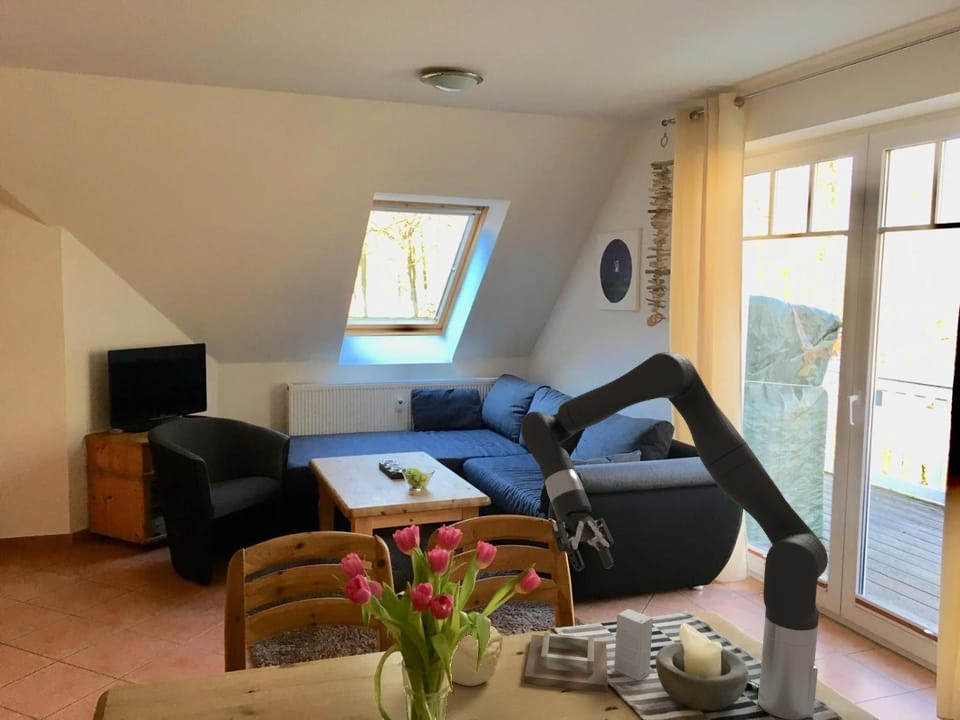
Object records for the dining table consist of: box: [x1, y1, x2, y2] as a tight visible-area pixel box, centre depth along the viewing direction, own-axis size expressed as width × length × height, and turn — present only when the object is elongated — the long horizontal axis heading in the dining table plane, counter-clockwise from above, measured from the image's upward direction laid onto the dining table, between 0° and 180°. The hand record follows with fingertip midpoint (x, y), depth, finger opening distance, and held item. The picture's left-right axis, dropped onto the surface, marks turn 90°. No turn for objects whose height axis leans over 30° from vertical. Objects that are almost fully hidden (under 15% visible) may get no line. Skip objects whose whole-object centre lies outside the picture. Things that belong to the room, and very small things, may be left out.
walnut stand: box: [524, 632, 609, 693], centre depth 160 cm, size 16×18×4 cm
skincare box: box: [613, 608, 654, 682], centre depth 157 cm, size 6×4×12 cm
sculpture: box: [451, 625, 504, 687], centre depth 153 cm, size 12×12×11 cm
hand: (595, 568), depth 157 cm, fingers open, 8 cm apart
